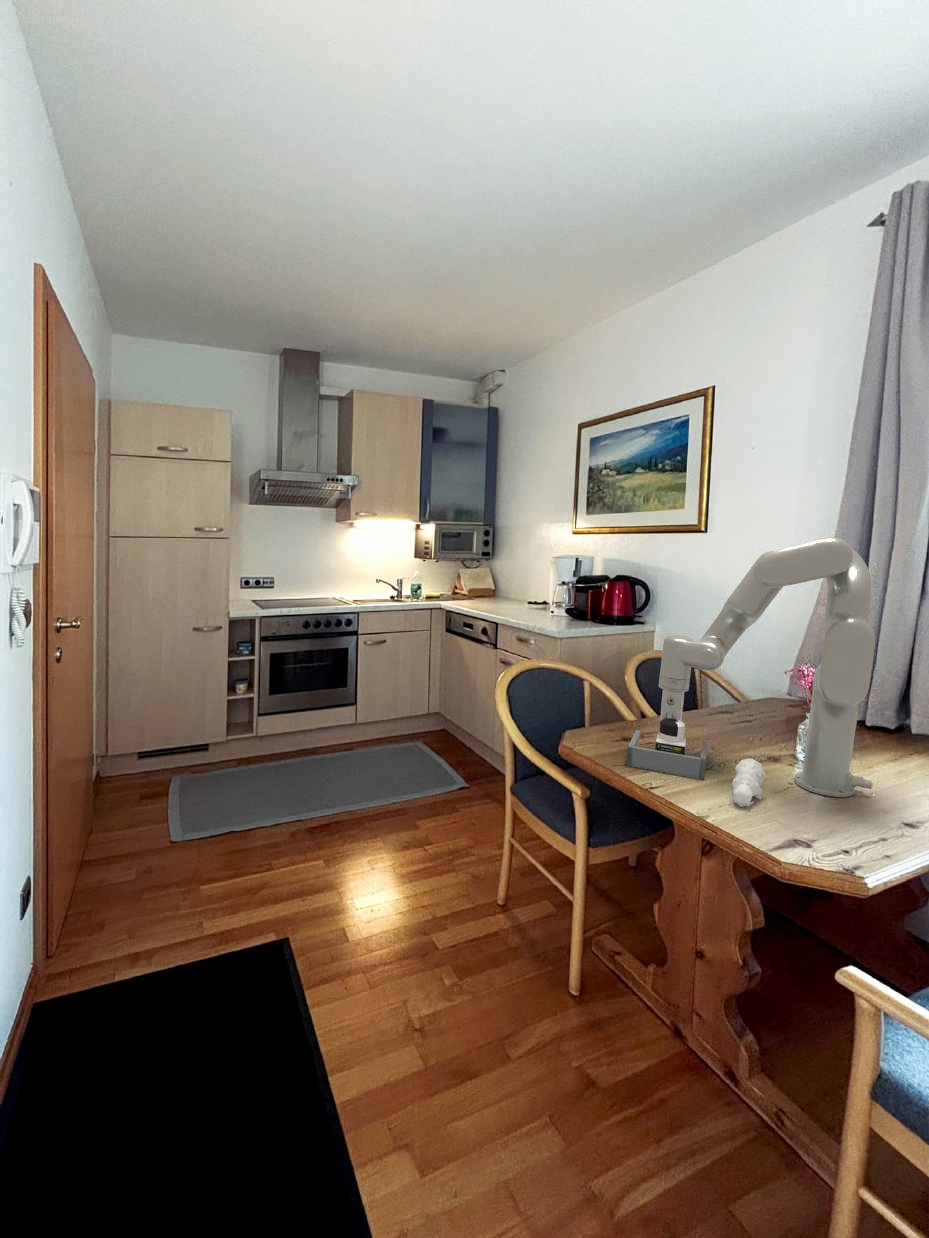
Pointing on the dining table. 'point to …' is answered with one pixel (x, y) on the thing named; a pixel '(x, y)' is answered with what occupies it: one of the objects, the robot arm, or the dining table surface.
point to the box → (666, 760)
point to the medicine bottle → (671, 736)
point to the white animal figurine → (747, 781)
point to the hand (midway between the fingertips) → (666, 749)
